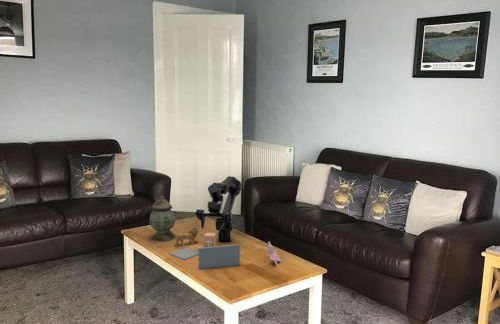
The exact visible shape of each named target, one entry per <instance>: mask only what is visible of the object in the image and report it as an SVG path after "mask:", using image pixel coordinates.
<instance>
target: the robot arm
mask: <svg viewBox="0 0 500 324" xmlns="http://www.w3.org/2000/svg"><path fill="white" fill-rule="evenodd" d="M242 189H243V184H242V182H241V181H240V180H239V179H237V178H236V177H235V176H227V177H226V178H225V179H224V180H222V181H221V182H213V183H212V184H210V185H209V186H208V187H207V191H208V193H209V196H210V198H211V201H208V202H207V209H208V210H207V211H208V212H206V211H205V209H196V211H195V216H196V218H197V220H199V221H200V224H201V230H204V227H205V221H206V217H213V218H216V220H215V230H216V231H218V232H217V240H218V241H219V242H220V243H226V242H232V239H231V232H232V231H233V230H234V225H233V223H232V222H233V214H232V210H233V207H234V203H235V200H236V198H237V197H238V195H240V193H241V191H242ZM223 195H227V197H226V200H225V203H224V205H223V202H224V196H223ZM222 205H223V209H222ZM221 211H222V212H221Z"/></svg>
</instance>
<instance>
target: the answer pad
mask: <svg viewBox="0 0 500 324" xmlns="http://www.w3.org/2000/svg"><path fill="white" fill-rule="evenodd" d="M168 255H170V256H172V257H174V258H175V257H176V258H178V259H181V260H184V261H185V260H188V259H191V258H194V257H196V256H199V250H195V249H192V248H189V247H184V248H180V249H177V250H175V251H172V252H169V253H168Z"/></svg>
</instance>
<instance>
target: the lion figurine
mask: <svg viewBox="0 0 500 324" xmlns="http://www.w3.org/2000/svg"><path fill="white" fill-rule="evenodd" d="M198 233H199V229H198V227H197V226H192V227H191V229H190V230H189V232H186V233H184V232H180V233H179V234H177V237H176V241H175V245H174V247H176V246H178V245H179V243H178V242H180V244H181V246H183V247H185V244H184V240H187V241H188V243H189V244H191V245H195V242H194V241H195V239H196V237H197V236H198Z"/></svg>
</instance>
